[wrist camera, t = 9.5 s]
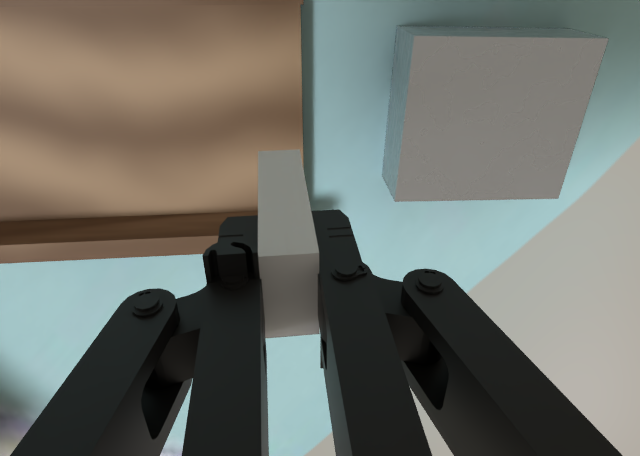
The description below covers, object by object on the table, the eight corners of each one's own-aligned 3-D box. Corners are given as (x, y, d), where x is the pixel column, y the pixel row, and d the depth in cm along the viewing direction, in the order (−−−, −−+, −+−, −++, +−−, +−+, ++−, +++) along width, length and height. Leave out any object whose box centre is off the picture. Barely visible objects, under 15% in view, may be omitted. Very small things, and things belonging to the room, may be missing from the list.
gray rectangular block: (395, 25, 26) (414, 35, 23) (565, 27, 27) (608, 38, 24) (380, 173, 31) (394, 201, 27) (527, 171, 32) (558, 198, 28)
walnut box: (-190, -28, 22) (-274, -24, 19) (298, -30, 24) (303, -26, 21) (-64, 231, 30) (-108, 268, 26) (303, 216, 31) (307, 248, 28)
